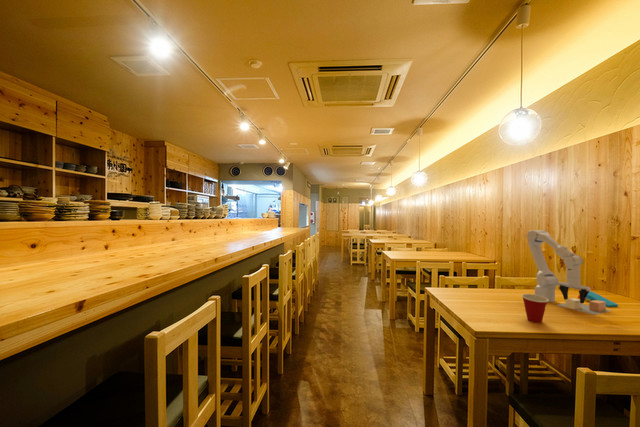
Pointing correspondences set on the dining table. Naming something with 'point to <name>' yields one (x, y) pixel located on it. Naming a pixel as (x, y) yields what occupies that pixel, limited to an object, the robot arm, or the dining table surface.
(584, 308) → the slate baseplate
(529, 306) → the plastic cup
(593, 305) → the terracotta base brick
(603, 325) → the dining table surface
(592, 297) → the teal bar
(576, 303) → the cream brick
